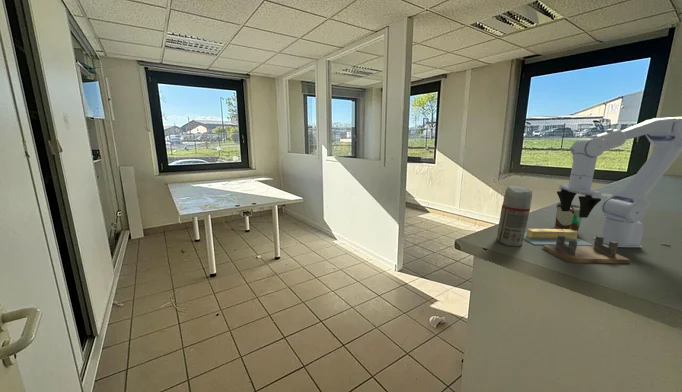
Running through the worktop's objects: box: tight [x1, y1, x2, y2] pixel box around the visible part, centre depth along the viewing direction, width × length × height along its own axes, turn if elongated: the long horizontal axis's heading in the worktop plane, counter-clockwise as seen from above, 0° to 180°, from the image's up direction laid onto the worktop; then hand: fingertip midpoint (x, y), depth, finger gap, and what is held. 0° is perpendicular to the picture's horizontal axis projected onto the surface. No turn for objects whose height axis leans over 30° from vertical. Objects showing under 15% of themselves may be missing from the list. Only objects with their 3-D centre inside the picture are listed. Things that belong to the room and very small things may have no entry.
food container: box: [554, 202, 583, 233], centre depth 106 cm, size 12×6×10 cm, turn 168°
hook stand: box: [542, 235, 631, 264], centre depth 83 cm, size 18×10×6 cm, turn 89°
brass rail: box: [526, 228, 579, 240], centre depth 97 cm, size 16×3×3 cm, turn 89°
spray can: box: [495, 185, 533, 247], centre depth 92 cm, size 8×8×20 cm
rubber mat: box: [523, 231, 594, 246], centre depth 98 cm, size 20×12×1 cm, turn 89°
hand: (573, 214), depth 92 cm, fingers open, 7 cm apart
